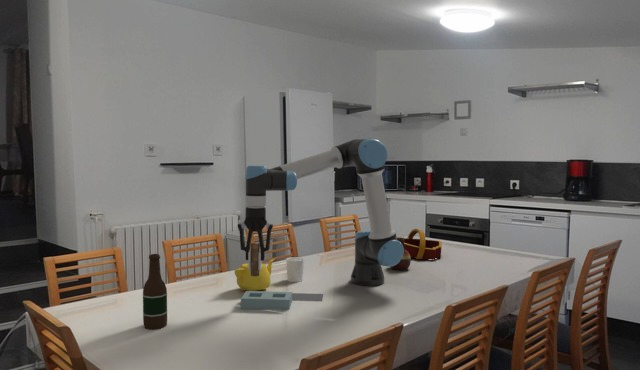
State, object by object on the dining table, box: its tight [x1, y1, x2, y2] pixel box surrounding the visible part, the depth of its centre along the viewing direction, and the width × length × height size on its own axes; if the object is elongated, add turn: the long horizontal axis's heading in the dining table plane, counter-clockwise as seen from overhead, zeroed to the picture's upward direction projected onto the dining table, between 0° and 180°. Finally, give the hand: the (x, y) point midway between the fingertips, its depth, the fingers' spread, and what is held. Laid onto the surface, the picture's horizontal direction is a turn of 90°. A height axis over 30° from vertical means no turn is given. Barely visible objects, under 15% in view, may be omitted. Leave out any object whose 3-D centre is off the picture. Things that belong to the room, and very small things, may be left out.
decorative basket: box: [403, 228, 443, 260], centre depth 289 cm, size 34×29×15 cm
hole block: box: [240, 290, 293, 311], centre depth 192 cm, size 18×10×4 cm, turn 87°
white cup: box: [285, 256, 305, 283], centre depth 228 cm, size 8×8×10 cm
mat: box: [292, 292, 324, 302], centre depth 202 cm, size 14×10×1 cm
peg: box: [250, 242, 260, 276], centre depth 191 cm, size 3×3×12 cm
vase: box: [390, 237, 412, 271], centre depth 254 cm, size 11×11×15 cm
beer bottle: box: [142, 253, 168, 331], centre depth 168 cm, size 8×8×24 cm
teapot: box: [234, 258, 276, 292], centre depth 213 cm, size 13×20×12 cm
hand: (254, 268), depth 191 cm, fingers closed on peg, 3 cm apart
